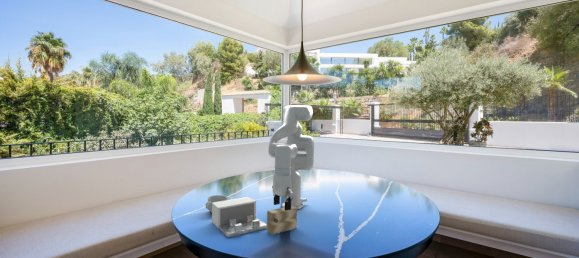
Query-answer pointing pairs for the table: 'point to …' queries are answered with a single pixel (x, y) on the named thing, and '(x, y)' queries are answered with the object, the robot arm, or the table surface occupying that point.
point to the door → (281, 220)
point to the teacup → (214, 200)
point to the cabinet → (232, 210)
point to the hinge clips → (241, 226)
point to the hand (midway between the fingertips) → (282, 207)
